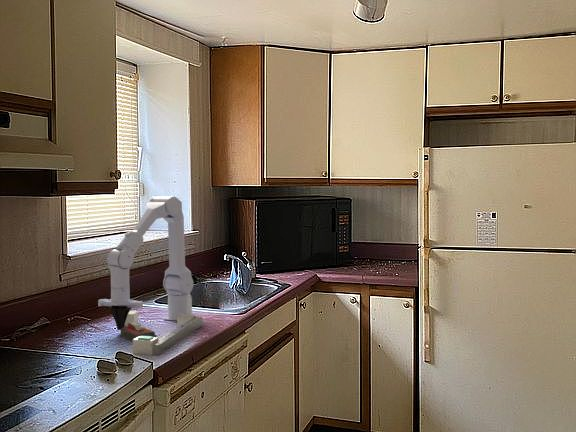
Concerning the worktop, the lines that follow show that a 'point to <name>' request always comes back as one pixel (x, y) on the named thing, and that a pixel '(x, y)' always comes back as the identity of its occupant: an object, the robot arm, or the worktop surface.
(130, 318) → the module
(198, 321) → the off-white long bar
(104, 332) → the worktop surface
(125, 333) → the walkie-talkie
